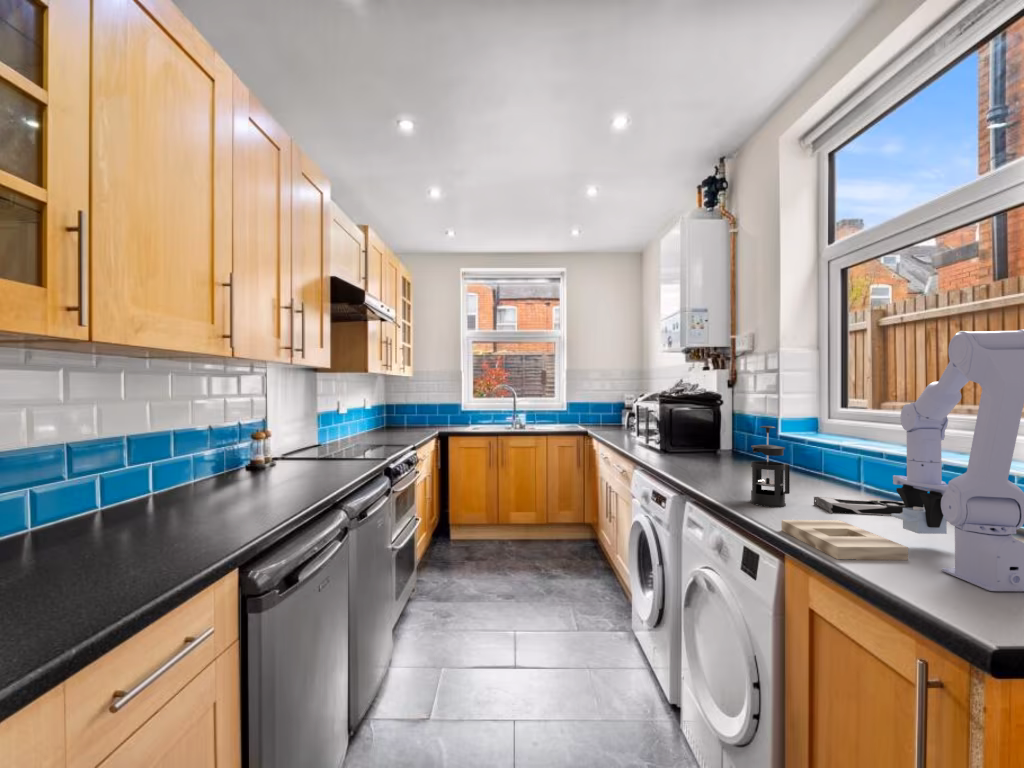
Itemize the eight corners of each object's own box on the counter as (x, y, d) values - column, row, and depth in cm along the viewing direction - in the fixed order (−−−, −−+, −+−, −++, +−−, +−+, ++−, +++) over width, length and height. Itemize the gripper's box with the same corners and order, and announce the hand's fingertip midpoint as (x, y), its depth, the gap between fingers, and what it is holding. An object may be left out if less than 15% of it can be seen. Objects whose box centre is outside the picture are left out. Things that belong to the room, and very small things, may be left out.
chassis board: (908, 559, 96) (908, 547, 96) (837, 559, 96) (837, 546, 96) (839, 530, 116) (839, 520, 116) (781, 530, 116) (781, 520, 116)
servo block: (958, 533, 102) (958, 510, 102) (906, 533, 102) (906, 509, 102) (941, 528, 106) (941, 505, 106) (891, 528, 106) (891, 505, 106)
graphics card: (813, 495, 143) (910, 499, 138) (813, 507, 143) (910, 511, 138) (828, 503, 133) (933, 508, 128) (828, 516, 133) (933, 521, 128)
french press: (760, 507, 139) (760, 427, 139) (741, 500, 148) (741, 425, 149) (798, 507, 140) (798, 427, 141) (777, 499, 150) (777, 425, 150)
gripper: (974, 465, 97) (975, 534, 97) (914, 456, 112) (914, 515, 112) (939, 465, 97) (939, 533, 97) (883, 456, 112) (884, 515, 112)
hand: (924, 524), depth 104 cm, fingers closed on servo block, 4 cm apart
